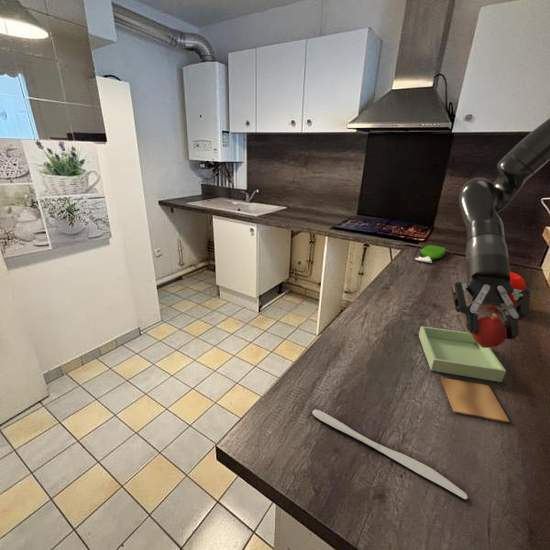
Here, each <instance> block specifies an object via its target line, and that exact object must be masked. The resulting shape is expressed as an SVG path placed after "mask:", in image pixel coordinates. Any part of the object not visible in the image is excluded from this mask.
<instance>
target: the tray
mask: <svg viewBox="0 0 550 550" xmlns="http://www.w3.org/2000/svg"><path fill="white" fill-rule="evenodd" d="M418 332H419V333H418V337H419V341H420V343H421V346H422V350H423V353H424V355H425V358H426V361H427V363H428V366H429V369H430V371H431V372H437V373H443V374H449V375H455V376H461V377H466V378H467V377H469V378H474V379H480V380H485V381H492V382H497V383H502V382H503V381H504V377H505V375H506V372H507V371H506V368H505V367H504V366H503V364H502V363H501V362H500V360H499V358H498V357H497V356H496V355H495V353H494V352H493V350H492V349H491V347H489V348H483V347H481V346H480V344H479V343H478V342H477V341H476V340H475V339H474V338H473V336H472V334H470V332H469V331H467V332H466V331H459V330H452V329H446V328H445V329H444V328H439V327H438V328H436V327H432V326H431V327H430V326H422V325H421V326H420V329H419V331H418Z"/></svg>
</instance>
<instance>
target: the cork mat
mask: <svg viewBox="0 0 550 550" xmlns="http://www.w3.org/2000/svg"><path fill="white" fill-rule="evenodd" d="M440 380H441V383H442V386H443V388H444V391H445V393H446V397H447V398H448V399H447V400H448V401H449V404H450V407H451V409H452V412H453V413H455V414H460V415H465V416H470V417H476V418H481V419H486V420H491V421H496V422H502V423H508V424H510V420H509V418H508V416H507V414H506V413H505V411H504V409H503V407H502V406H501V403H500V402H499V399H498V398H497V397H496V395H495V393H494V392H493V389H492V388H491V386H490V385H488V384H482V383H476V382H470V381H464V380H459V379H458V380H457V379H452V378H448V377H440Z"/></svg>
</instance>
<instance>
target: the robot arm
mask: <svg viewBox="0 0 550 550" xmlns="http://www.w3.org/2000/svg"><path fill="white" fill-rule="evenodd" d="M549 161H550V117H549V118H548V119H546V120H545V121H544V122H542V123H541V124H540V125H538V126H537V127H536V128H534V129H533V130H532V131H531V132H530V133H528V134H527V135H526V136H525V137H524V138H522V139H521V140H520V141H519V142H518V143H517V144H516V145H515V146H514V147H513V148H512V149H510V151H508V153H507V154H505V155H504V156H503V157H502V158H501V159H500V160H499V162H498V163H497V164H496V171H497V178H496V179H495V180H494V182H492V181H491V180H489V179H487V178H485V177H475V178H472V179H470V180H468V181H467V182H466V183H464V184H463V185H462V187H461V188H460V191H459V194H458V207H459V211H460V214H461V218H462V220H463V223H464V225H465V239H466V240H465V241H466V248H465V257H464V258H465V264H466V266H465V267H466V279H467V282H466V283H461V281H456V282H455V283H454V284H453V285H452V286H451V287H450V289H451V295H452V299H453V304H454V309H455V312H457V313H461V314H463V315H465V321H466V330H467V332H469V333H470V334H476V333H478V331H479V329H478V319H479V316H478V315H479V314H477V312H478V310H479V308H480V306H482V305H483V306H484V305H488V306H489V305H491V306H496V307H497V309H498V310H497V311H498V312H500V313H501V314H502V316H503V318H504V319H505V320H504V322H503V323H504V325H505V327H506V330H507V337H506V339H507V340H514V339H516V338H517V336H519V334H520V332H519V331H520V330H519V323H518V321H520V320H522V319H524V318H527V317H529V316H530V303H531V302H530V301H531V291H530V290H529V289H528V288H526V289H524V290H518V289H514V288H513V287H512V285H511V283H510V272H511V270H510V269H511V268H510V260H509V252H508V246H507V243H506V237H505V229H504V228H505V227H504V223H503V220H502V218H501V217H500V216H499V213H500V212H502V211H503V210H504V209H505V208H506V207H507V206H508V205H509V204H510V202H511V201H512V200H513V198H515V196H516V195H517V194H518V192H519V191H520V190H521V189H522V187H523V186H524V184H525V183H526V181H527V180H528V179H530V178H531V177H532V176H534V174H536V173H537V172H538V171H539V170H540V169H541V168H543V167H544V166H545V165H546V164H547V163H548V162H549ZM465 292H467V293H468V294H469V295H470V296H471V299H470V301H469V303H468V305H467V302H466V296H465ZM511 294H512V295H513V296H514V300H516V304H515V305H514V304H513V303H512V301H511V299H510V298H509V296H510V295H511ZM503 303H504V305H503ZM514 306H515V307H514Z"/></svg>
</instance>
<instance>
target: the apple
mask: <svg viewBox="0 0 550 550" xmlns="http://www.w3.org/2000/svg"><path fill="white" fill-rule="evenodd" d="M510 283H511V285H512V287H513V288H514V289H518V290H524V289H527V283H526V281H525V278H523V277H522V276H521V275H520V274H518V273H515V272H513V271H510ZM509 298H510V299H511V301H512V303H513V304H514V306H516V300H514V296H513V295H512V294H511V295H510V296H509ZM503 305H504V303H503ZM488 307H490V308H491V309H493V310H495V311H498V309H497V307H496V306H491V305H488Z"/></svg>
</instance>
